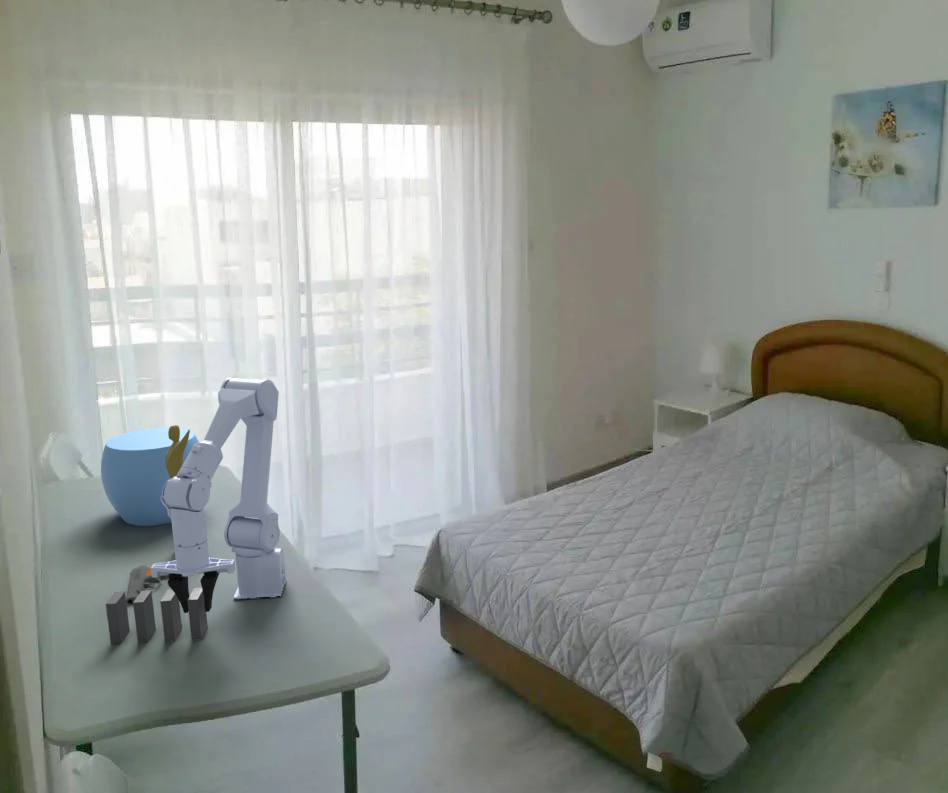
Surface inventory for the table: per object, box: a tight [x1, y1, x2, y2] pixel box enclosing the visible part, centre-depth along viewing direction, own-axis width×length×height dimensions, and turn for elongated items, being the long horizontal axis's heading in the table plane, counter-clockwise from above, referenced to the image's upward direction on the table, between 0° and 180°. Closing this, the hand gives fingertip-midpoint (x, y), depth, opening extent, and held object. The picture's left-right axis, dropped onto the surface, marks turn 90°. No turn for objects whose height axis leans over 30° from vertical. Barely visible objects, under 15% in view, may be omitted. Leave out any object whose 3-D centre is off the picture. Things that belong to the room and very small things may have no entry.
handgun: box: [126, 564, 169, 605], centre depth 176 cm, size 2×16×12 cm
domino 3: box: [187, 587, 209, 641], centre depth 154 cm, size 2×5×8 cm, turn 4°
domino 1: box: [132, 590, 157, 644], centre depth 153 cm, size 2×5×8 cm, turn 4°
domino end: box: [105, 591, 131, 645], centre depth 153 cm, size 2×5×8 cm, turn 4°
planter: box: [100, 427, 200, 527], centre depth 215 cm, size 25×25×20 cm
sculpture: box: [165, 424, 191, 479], centre depth 190 cm, size 11×7×30 cm, turn 42°
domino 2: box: [159, 588, 183, 643], centre depth 153 cm, size 2×5×8 cm, turn 4°
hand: (197, 609), depth 154 cm, fingers open, 3 cm apart
